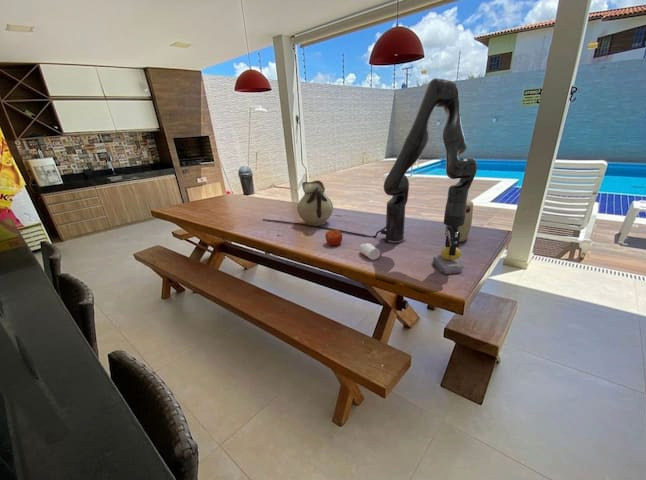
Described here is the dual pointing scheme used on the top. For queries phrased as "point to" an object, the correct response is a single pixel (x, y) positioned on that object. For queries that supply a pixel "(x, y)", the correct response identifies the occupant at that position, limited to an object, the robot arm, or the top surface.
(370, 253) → the roll
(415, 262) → the top surface
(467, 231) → the food model
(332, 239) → the tomato
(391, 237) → the robot arm
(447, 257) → the lemon
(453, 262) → the stone block
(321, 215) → the cream drawstring sack
